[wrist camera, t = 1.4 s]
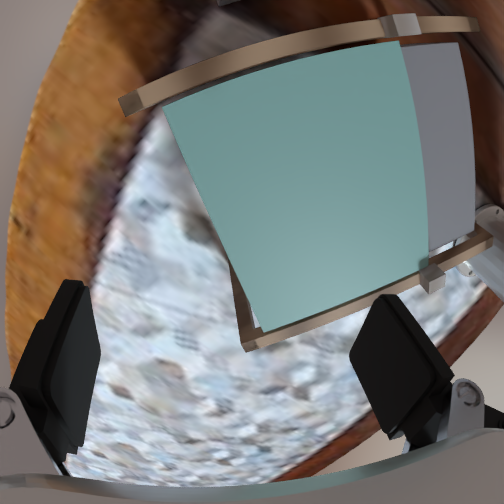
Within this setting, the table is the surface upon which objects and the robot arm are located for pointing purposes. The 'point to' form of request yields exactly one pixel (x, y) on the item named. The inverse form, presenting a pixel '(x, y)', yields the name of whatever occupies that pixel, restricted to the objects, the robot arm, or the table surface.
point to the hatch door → (333, 171)
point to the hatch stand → (286, 47)
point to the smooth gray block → (225, 2)
